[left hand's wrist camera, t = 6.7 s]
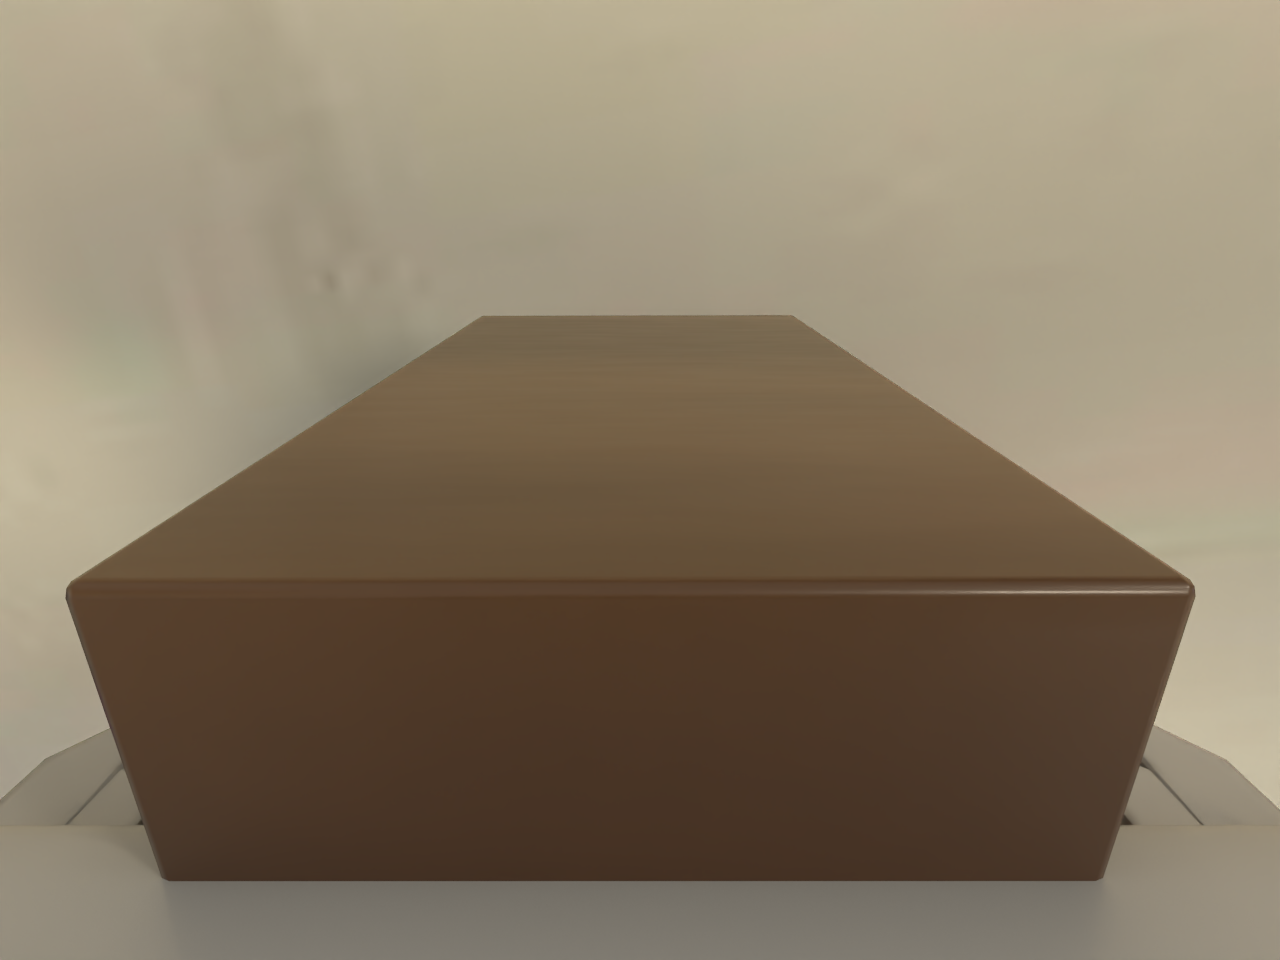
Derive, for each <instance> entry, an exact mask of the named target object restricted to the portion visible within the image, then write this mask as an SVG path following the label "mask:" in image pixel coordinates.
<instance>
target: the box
mask: <svg viewBox="0 0 1280 960" xmlns="http://www.w3.org/2000/svg"><path fill="white" fill-rule="evenodd" d="M1194 599H1195V588H1194V585H1193V584H1192V582H1191V581H1190V579H1188V578H1187V577H1185V576H1184V575H1182V574H1181V573H1179V572H1178V571H1176V570H1175V569H1173V568H1172V567H1170V566H1169V565H1167V564H1166V563H1164V562H1163V561H1161V560H1160V559H1158V558H1157V557H1155V556H1154V555H1152V554H1151V553H1149V552H1148V551H1146V550H1145V549H1143V548H1142V547H1140V546H1139V545H1137V544H1135V543H1134V542H1132V541H1131V540H1129V539H1128V538H1126V537H1125V536H1123V535H1122V534H1120V533H1119V532H1117V531H1116V530H1114V529H1113V528H1111V527H1110V526H1108V525H1107V524H1105V523H1104V522H1102V521H1101V520H1099V519H1098V518H1096V517H1095V516H1093V515H1092V514H1090V513H1089V512H1087V511H1086V510H1084V509H1083V508H1081V507H1080V506H1078V505H1077V504H1075V503H1074V502H1072V501H1071V500H1069V499H1068V498H1066V497H1065V496H1063V495H1062V494H1060V493H1059V492H1057V491H1056V490H1054V489H1053V488H1051V487H1050V486H1048V485H1047V484H1045V483H1044V482H1042V481H1041V480H1039V479H1038V478H1036V477H1035V476H1033V475H1032V474H1030V473H1029V472H1027V471H1026V470H1024V469H1023V468H1021V467H1020V466H1018V465H1017V464H1015V463H1014V462H1012V461H1011V460H1009V459H1008V458H1006V457H1005V456H1003V455H1002V454H1000V453H999V452H997V451H995V450H994V449H992V448H991V447H989V446H988V445H986V444H985V443H983V442H982V441H980V440H979V439H977V438H976V437H974V436H973V435H971V434H970V433H968V432H967V431H965V430H964V429H962V428H961V427H959V426H958V425H956V424H955V423H953V422H952V421H950V420H949V419H947V418H946V417H944V416H943V415H941V414H940V413H938V412H937V411H935V410H934V409H932V408H931V407H929V406H928V405H926V404H925V403H923V402H922V401H920V400H919V399H917V398H916V397H914V396H913V395H911V394H910V393H908V392H907V391H905V390H904V389H902V388H901V387H899V386H898V385H896V384H895V383H893V382H892V381H890V380H889V379H887V378H886V377H884V376H883V375H881V374H880V373H878V372H877V371H875V370H874V369H872V368H871V367H869V366H868V365H866V364H865V363H863V362H862V361H860V360H859V359H857V358H855V357H854V356H852V355H851V354H849V353H848V352H846V351H845V350H843V349H842V348H840V347H839V346H837V345H836V344H834V343H833V342H831V341H830V340H828V339H827V338H825V337H824V336H822V335H821V334H819V333H818V332H816V331H815V330H813V329H812V328H810V327H809V326H807V325H806V324H804V323H803V322H801V321H800V320H798V319H797V318H795V317H793V316H791V315H757V316H482V317H480V318H478V319H477V320H475V321H474V322H472V323H471V324H469V325H468V326H466V327H465V328H463V329H461V330H460V331H458V332H457V333H455V334H454V335H452V336H451V337H449V338H448V339H446V340H444V341H443V342H441V343H440V344H438V345H437V346H435V347H434V348H432V349H430V350H429V351H427V352H426V353H424V354H423V355H421V356H420V357H418V358H417V359H415V360H413V361H412V362H410V363H409V364H407V365H406V366H404V367H403V368H401V369H400V370H398V371H396V372H395V373H393V374H392V375H390V376H389V377H387V378H386V379H384V380H382V381H381V382H379V383H378V384H376V385H375V386H373V387H372V388H370V389H369V390H367V391H365V392H364V393H362V394H361V395H359V396H358V397H356V398H355V399H353V400H352V401H350V402H348V403H347V404H345V405H344V406H342V407H341V408H339V409H338V410H336V411H334V412H333V413H331V414H330V415H328V416H327V417H325V418H324V419H322V420H321V421H319V422H317V423H316V424H314V425H313V426H311V427H310V428H308V429H307V430H305V431H304V432H302V433H300V434H299V435H297V436H296V437H294V438H293V439H291V440H290V441H288V442H286V443H285V444H283V445H282V446H280V447H279V448H277V449H276V450H274V451H273V452H271V453H269V454H268V455H266V456H265V457H263V458H262V459H260V460H259V461H257V462H256V463H254V464H252V465H251V466H249V467H248V468H246V469H245V470H243V471H242V472H240V473H238V474H237V475H235V476H234V477H232V478H231V479H229V480H228V481H226V482H225V483H223V484H221V485H220V486H218V487H217V488H215V489H214V490H212V491H211V492H209V493H208V494H206V495H204V496H203V497H201V498H200V499H198V500H197V501H195V502H194V503H192V504H190V505H189V506H187V507H186V508H184V509H183V510H181V511H180V512H178V513H177V514H175V515H173V516H172V517H170V518H169V519H167V520H166V521H164V522H163V523H161V524H160V525H158V526H156V527H155V528H153V529H152V530H150V531H149V532H147V533H146V534H144V535H142V536H141V537H139V538H138V539H136V540H135V541H133V542H132V543H130V544H129V545H127V546H125V547H124V548H122V549H121V550H119V551H118V552H116V553H115V554H113V555H112V556H110V557H108V558H107V559H105V560H104V561H102V562H101V563H99V564H98V565H96V566H94V567H93V568H91V569H90V570H88V571H87V572H85V573H84V574H82V575H81V576H79V577H77V578H76V579H74V580H73V581H71V583H70V584H69V586H68V587H67V589H66V601H67V604H68V607H69V609H70V612H71V615H72V618H73V621H74V624H75V627H76V630H77V633H78V636H79V639H80V641H81V644H82V647H83V650H84V653H85V656H86V659H87V662H88V665H89V668H90V671H91V673H92V676H93V679H94V682H95V685H96V688H97V691H98V694H99V697H100V700H101V703H102V706H103V708H104V711H105V714H106V717H107V720H108V723H109V726H110V729H111V732H112V735H113V738H114V740H115V743H116V746H117V749H118V752H119V755H120V758H121V761H122V764H123V767H124V770H125V772H126V775H127V778H128V781H129V784H130V787H131V790H132V793H133V796H134V799H135V802H136V804H137V807H138V810H139V813H140V816H141V819H142V822H143V825H144V828H145V831H146V834H147V836H148V839H149V842H150V845H151V848H152V851H153V854H154V857H155V860H156V863H157V866H158V868H159V871H160V874H161V877H162V878H163V879H165V880H167V881H1097V880H1099V879H1102V878H1103V877H1104V874H1105V870H1106V867H1107V864H1108V861H1109V858H1110V855H1111V852H1112V849H1113V846H1114V843H1115V840H1116V837H1117V834H1118V831H1119V828H1120V825H1121V822H1122V819H1123V816H1124V812H1125V809H1126V806H1127V803H1128V800H1129V797H1130V794H1131V791H1132V788H1133V785H1134V782H1135V779H1136V776H1137V773H1138V770H1139V767H1140V764H1141V761H1142V758H1143V755H1144V751H1145V748H1146V745H1147V742H1148V739H1149V736H1150V733H1151V730H1152V727H1153V724H1154V721H1155V718H1156V715H1157V712H1158V709H1159V706H1160V703H1161V700H1162V697H1163V693H1164V690H1165V687H1166V684H1167V681H1168V678H1169V675H1170V672H1171V669H1172V666H1173V663H1174V660H1175V657H1176V654H1177V651H1178V648H1179V645H1180V642H1181V639H1182V636H1183V632H1184V629H1185V626H1186V623H1187V620H1188V617H1189V614H1190V611H1191V608H1192V605H1193V602H1194Z"/></svg>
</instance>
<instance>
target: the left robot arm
mask: <svg viewBox="0 0 1280 960" xmlns="http://www.w3.org/2000/svg"><path fill="white" fill-rule="evenodd" d="M0 960H1280V809H1278V808H1277V807H1276V806H1275V805H1274V804H1273V803H1272V802H1271V801H1270V800H1269V799H1268V798H1267V797H1266V796H1265V795H1263V794H1262V793H1261V792H1260V791H1259V790H1258V789H1257V788H1256V787H1255V786H1254V785H1253V784H1252V783H1251V782H1250V781H1248V780H1247V779H1246V778H1245V777H1244V776H1243V775H1242V774H1241V773H1240V772H1239V771H1238V770H1237V769H1236V768H1235V767H1233V766H1232V765H1231V764H1230V763H1229V762H1228V761H1227V760H1225V759H1223V758H1221V757H1219V756H1217V755H1215V754H1213V753H1211V752H1209V751H1207V750H1205V749H1203V748H1200V747H1198V746H1196V745H1194V744H1192V743H1190V742H1188V741H1186V740H1184V739H1182V738H1180V737H1178V736H1175V735H1173V734H1171V733H1169V732H1167V731H1165V730H1163V729H1161V728H1159V727H1157V726H1155V725H1153V727H1152V730H1151V733H1150V736H1149V739H1148V742H1147V745H1146V748H1145V751H1144V755H1143V758H1142V761H1141V764H1140V767H1139V770H1138V773H1137V776H1136V779H1135V782H1134V785H1133V788H1132V791H1131V794H1130V797H1129V800H1128V803H1127V806H1126V809H1125V812H1124V816H1123V819H1122V822H1121V825H1120V828H1119V831H1118V834H1117V837H1116V840H1115V843H1114V846H1113V849H1112V852H1111V855H1110V858H1109V861H1108V864H1107V867H1106V870H1105V874H1104V877H1103V878H1102V879H1099V880H1097V881H167V880H165V879H163V878H162V877H161V874H160V871H159V868H158V866H157V863H156V860H155V857H154V854H153V851H152V848H151V845H150V842H149V839H148V836H147V834H146V831H145V828H144V825H143V822H142V819H141V816H140V813H139V810H138V807H137V804H136V802H135V799H134V796H133V793H132V790H131V787H130V784H129V781H128V778H127V775H126V772H125V770H124V767H123V764H122V761H121V758H120V755H119V752H118V749H117V746H116V743H115V740H114V738H113V735H112V732H111V729H107V730H105V731H103V732H101V733H99V734H97V735H95V736H93V737H91V738H88V739H86V740H84V741H82V742H80V743H78V744H76V745H74V746H72V747H69V748H67V749H65V750H63V751H61V752H59V753H57V754H55V755H53V756H50V757H48V758H46V759H45V760H44V761H43V762H41V763H40V764H39V765H38V766H37V767H36V768H35V769H34V770H33V771H32V772H30V773H29V774H28V775H27V776H26V777H25V778H24V779H23V780H22V781H21V782H20V783H18V784H17V785H16V786H15V787H14V788H13V789H12V790H11V791H10V792H9V793H7V794H6V795H5V796H4V797H3V798H2V799H1V800H0Z"/></svg>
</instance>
